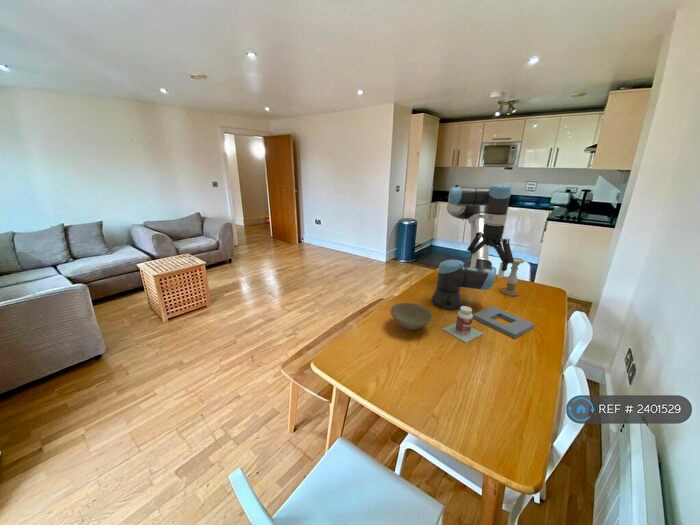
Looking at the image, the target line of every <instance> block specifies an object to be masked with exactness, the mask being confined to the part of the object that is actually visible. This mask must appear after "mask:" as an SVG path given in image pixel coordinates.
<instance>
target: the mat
mask: <svg viewBox="0 0 700 525" xmlns="http://www.w3.org/2000/svg"><path fill="white" fill-rule="evenodd" d="M455 328H456V322H455V323H452V324H450V325H449V326H446V327H444V328H442V330H443V331H444V332H446V333H447V334H450V335H451V336H453V337H454V338H456V339H458V340H460V341H462V342H463V343H464V344H467V343H469V342H471V341H473V340H475V339H477V338H479V337H481V336H483V335H484V332H481V331H480V330H478V329H476V328H473V327H472V326H471V331H470V333H469V334H460V333H458V332H457V331H456V329H455Z"/></svg>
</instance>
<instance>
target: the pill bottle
mask: <svg viewBox="0 0 700 525" xmlns="http://www.w3.org/2000/svg"><path fill="white" fill-rule="evenodd" d="M472 311H473V309H472V307H470V306H468V305H467V306H466V305H462V306H461V307H460V308H459V311H458V312H457V314H456V322H455V323H456V328H455V329H456V331H457V332H458V333H460V334H469V333H470V331H471V327H472V324H473V320H474V319H473V313H472Z"/></svg>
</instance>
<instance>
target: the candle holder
mask: <svg viewBox="0 0 700 525" xmlns="http://www.w3.org/2000/svg"><path fill="white" fill-rule="evenodd" d="M513 260H514V262H513V263H510V264H511V266H510V272H509V275H508V276H507V278H506V284H505V285H506V287H504V288H501V290H500V293H502V294H503V295H506V296H509V297H517V296H519V292H518V290H517V289H516V286H517V285H516V284H517V283H518V276H517V272H518V271H519V266H520V264H524V263H525V260H524V259H522V258H519V257H513Z"/></svg>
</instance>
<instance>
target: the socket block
mask: <svg viewBox="0 0 700 525" xmlns="http://www.w3.org/2000/svg"><path fill="white" fill-rule="evenodd" d="M472 315H473V319H472V320H475V321H477V322H479V323H481V324H483V325H485V326H487V327H490V328H492V329H494V330H496V331H498V332H500V333H502V334H504V335H506V336H508V337H510V338H512V339H513V340H515V339H517V338H519V337H520V336H522V335H524V334H525V333H527V332H529V331H530V330H532V329H534V328H535V324H536V323H535V322H532V321H529V320H526V319H524V318H522V317H521V316H517V315H515V314H512V313H510V312H507V310H506V311H505V310H503V309H501V308H499V307H496V306H493V305H491V306H489V307H487V308H485V309H484V308H483V309H482V310H480V311H478V312H476V313H472ZM497 318H501V319H504V320H505V321H508V322H510V323H509V324H504V323H502V322H500V321H498V320H496V319H497Z"/></svg>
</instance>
